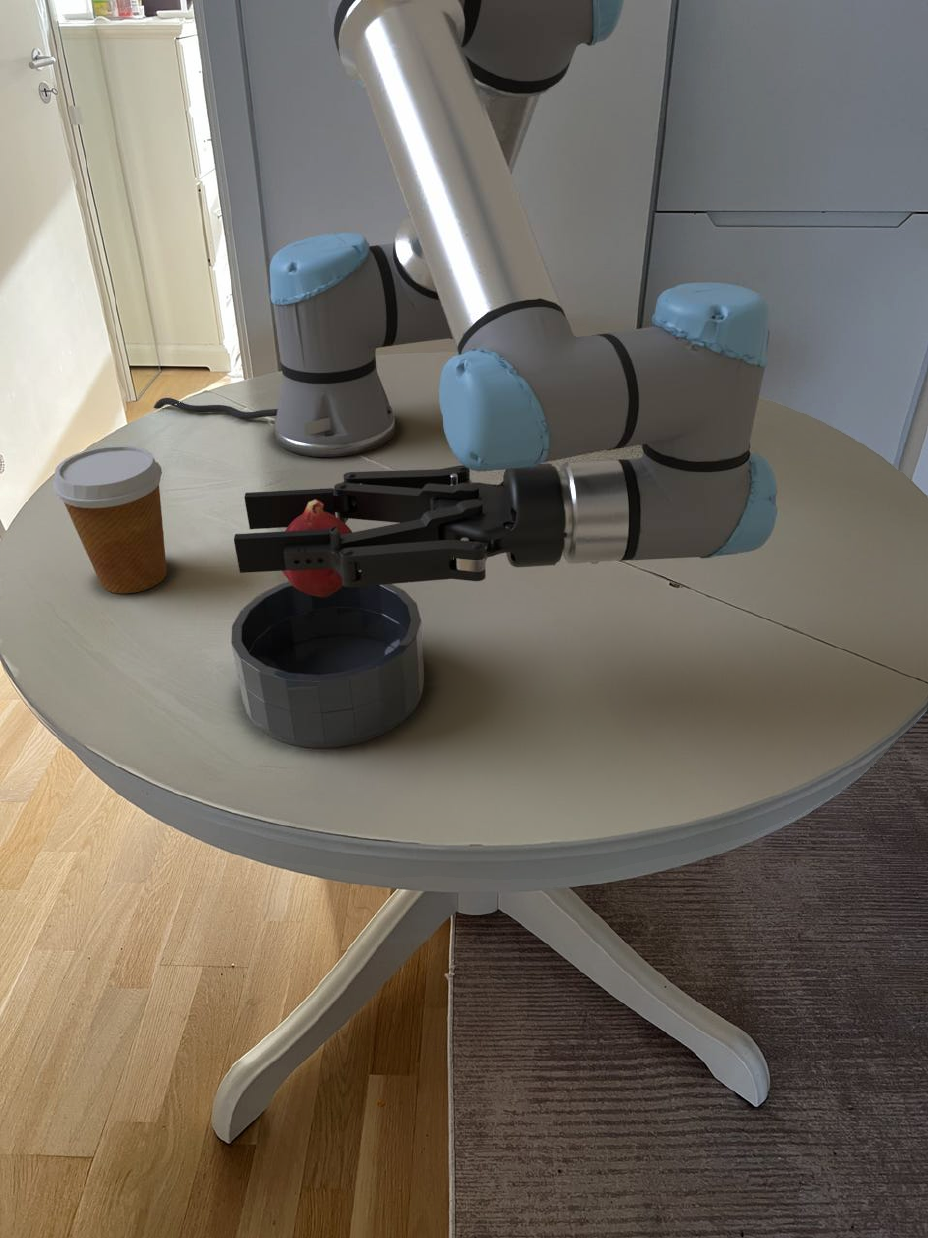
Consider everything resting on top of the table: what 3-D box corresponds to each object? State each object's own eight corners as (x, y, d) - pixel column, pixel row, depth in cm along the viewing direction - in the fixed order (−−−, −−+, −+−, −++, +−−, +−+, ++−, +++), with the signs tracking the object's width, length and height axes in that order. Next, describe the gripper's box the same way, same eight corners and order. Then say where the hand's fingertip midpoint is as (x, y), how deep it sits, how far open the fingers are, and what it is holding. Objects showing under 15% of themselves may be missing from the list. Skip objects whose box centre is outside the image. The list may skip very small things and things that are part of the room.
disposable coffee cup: (87, 613, 85) (52, 496, 78) (79, 564, 92) (46, 454, 85) (191, 589, 88) (166, 475, 81) (175, 544, 95) (151, 436, 88)
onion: (348, 621, 67) (337, 524, 63) (274, 613, 68) (258, 518, 64) (370, 580, 72) (362, 487, 68) (301, 573, 73) (288, 482, 69)
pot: (208, 691, 75) (193, 626, 72) (344, 616, 84) (337, 555, 80) (322, 776, 67) (312, 708, 63) (460, 683, 76) (458, 618, 72)
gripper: (580, 627, 62) (235, 649, 61) (538, 501, 78) (262, 516, 76) (586, 530, 58) (216, 551, 57) (541, 417, 73) (249, 432, 72)
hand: (243, 531), depth 67 cm, fingers closed on onion, 6 cm apart
